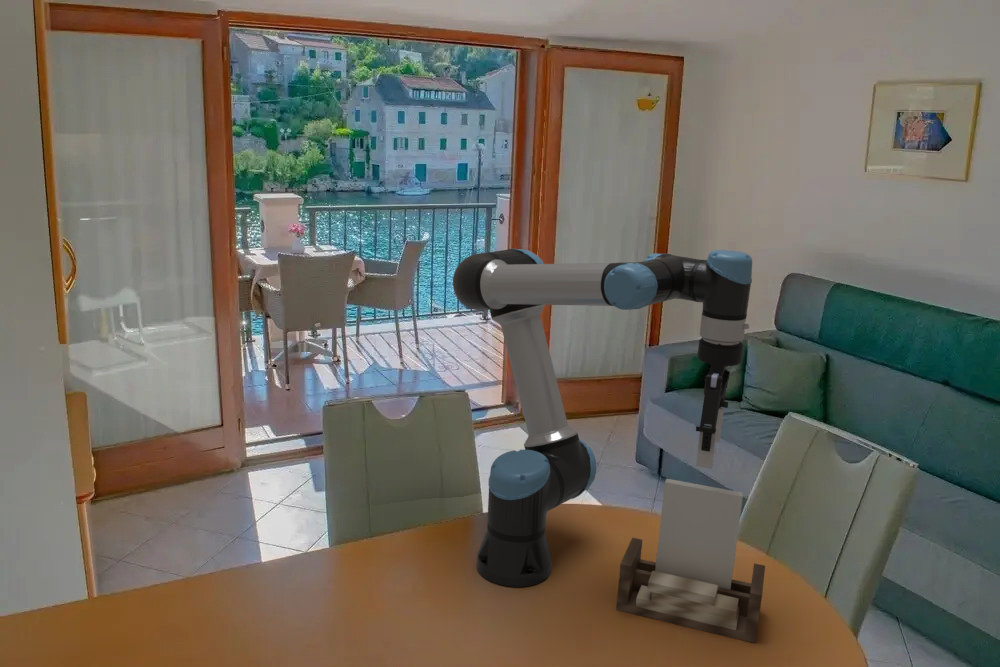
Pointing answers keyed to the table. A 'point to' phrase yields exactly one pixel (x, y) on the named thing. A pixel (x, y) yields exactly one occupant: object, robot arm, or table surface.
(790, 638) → the table surface
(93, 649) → the table surface
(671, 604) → the offcuts
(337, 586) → the table surface
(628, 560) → the rack
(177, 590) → the table surface
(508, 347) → the robot arm
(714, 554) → the sheet
